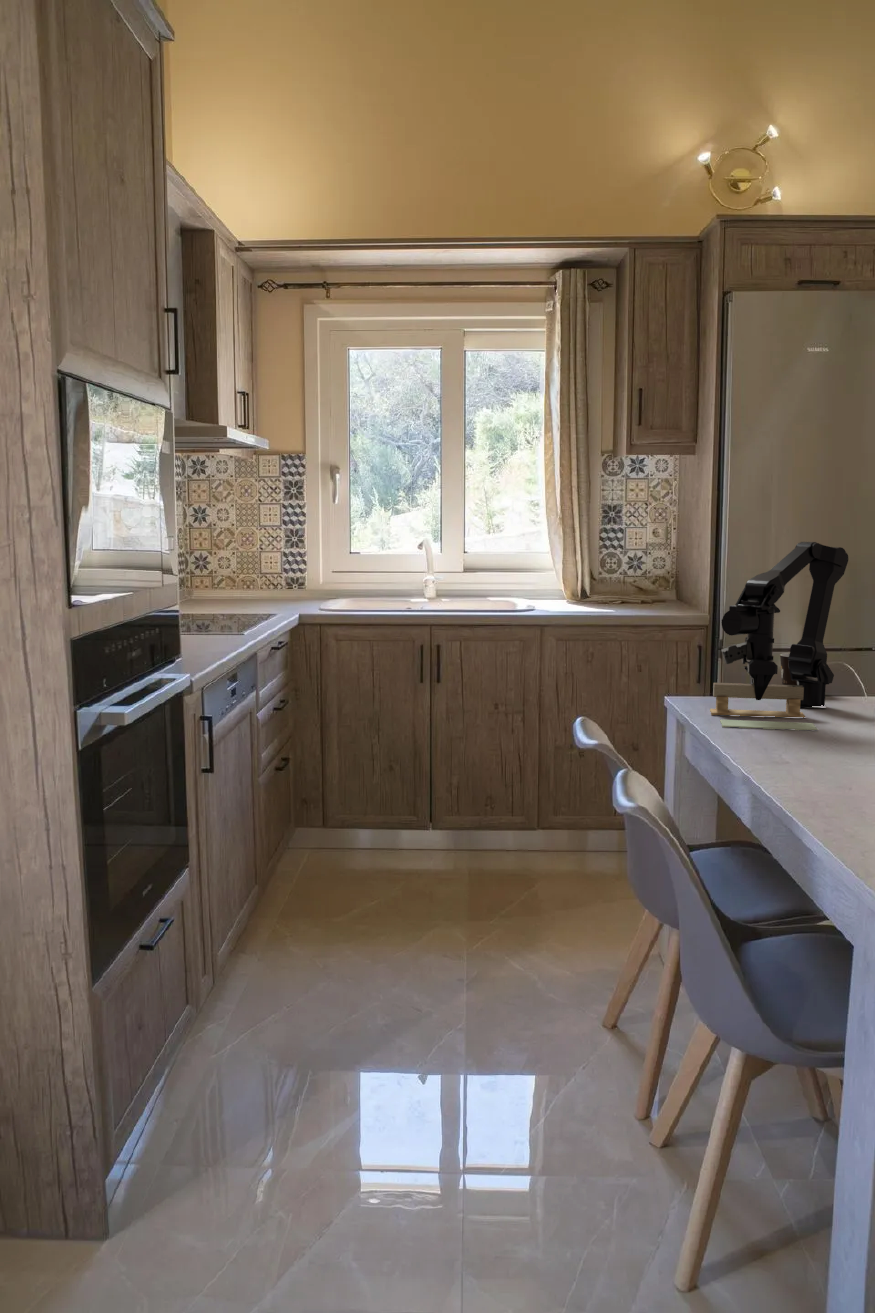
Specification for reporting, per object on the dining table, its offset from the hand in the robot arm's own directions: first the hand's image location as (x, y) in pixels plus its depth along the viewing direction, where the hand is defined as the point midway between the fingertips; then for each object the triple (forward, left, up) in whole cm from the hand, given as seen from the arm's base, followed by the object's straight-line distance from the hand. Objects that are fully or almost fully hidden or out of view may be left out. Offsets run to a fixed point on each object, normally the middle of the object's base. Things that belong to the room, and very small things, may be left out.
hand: (757, 698), depth 236 cm
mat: (-1, +13, -4) cm, 14 cm away
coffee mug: (-14, -36, -4) cm, 39 cm away
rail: (0, 0, 0) cm, 0 cm away
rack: (0, 0, -4) cm, 4 cm away
